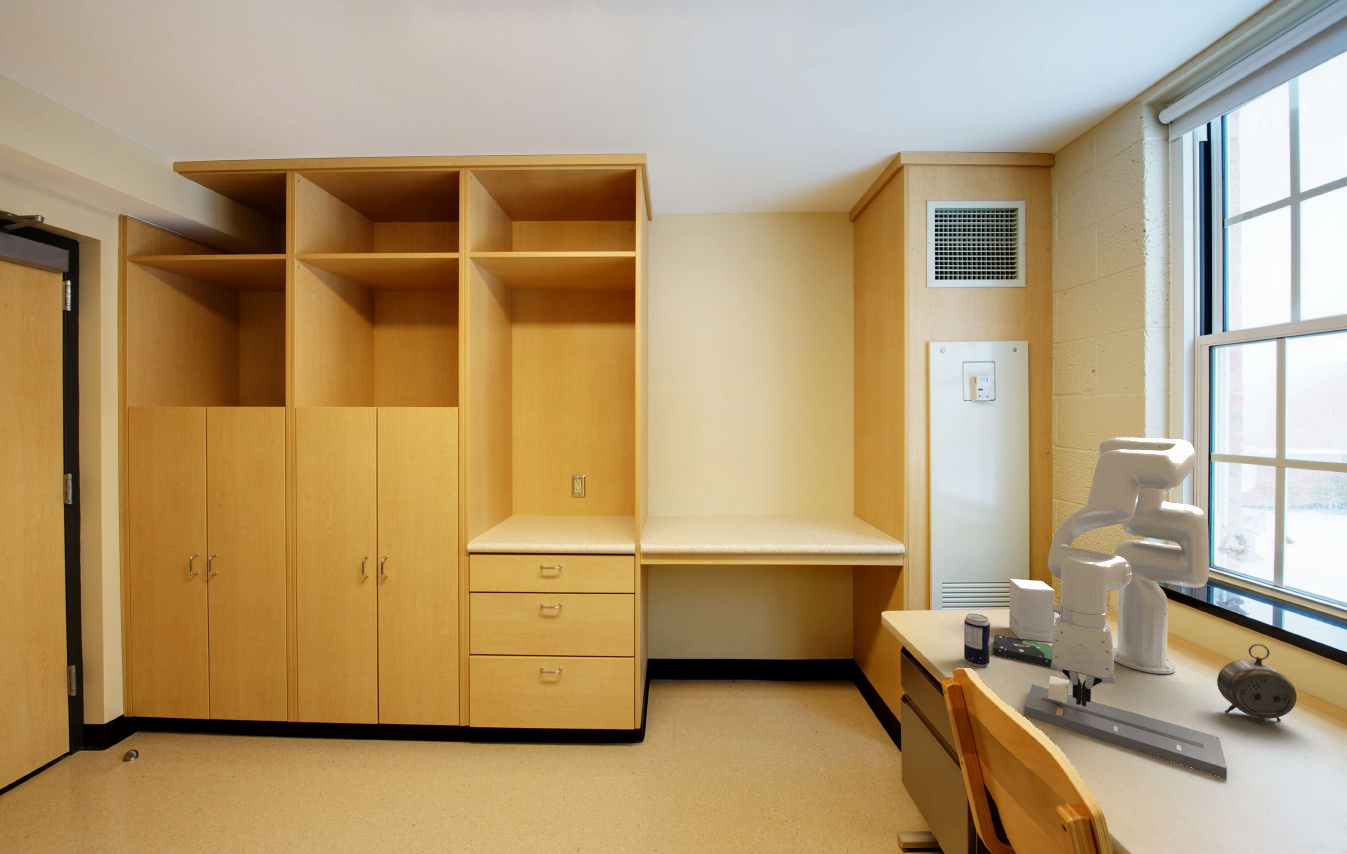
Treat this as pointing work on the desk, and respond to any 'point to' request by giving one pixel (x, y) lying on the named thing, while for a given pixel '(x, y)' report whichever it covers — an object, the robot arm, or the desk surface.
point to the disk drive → (1022, 650)
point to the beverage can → (976, 640)
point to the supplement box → (1031, 610)
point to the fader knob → (1058, 689)
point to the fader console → (1130, 731)
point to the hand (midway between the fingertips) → (1081, 702)
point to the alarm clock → (1256, 688)
